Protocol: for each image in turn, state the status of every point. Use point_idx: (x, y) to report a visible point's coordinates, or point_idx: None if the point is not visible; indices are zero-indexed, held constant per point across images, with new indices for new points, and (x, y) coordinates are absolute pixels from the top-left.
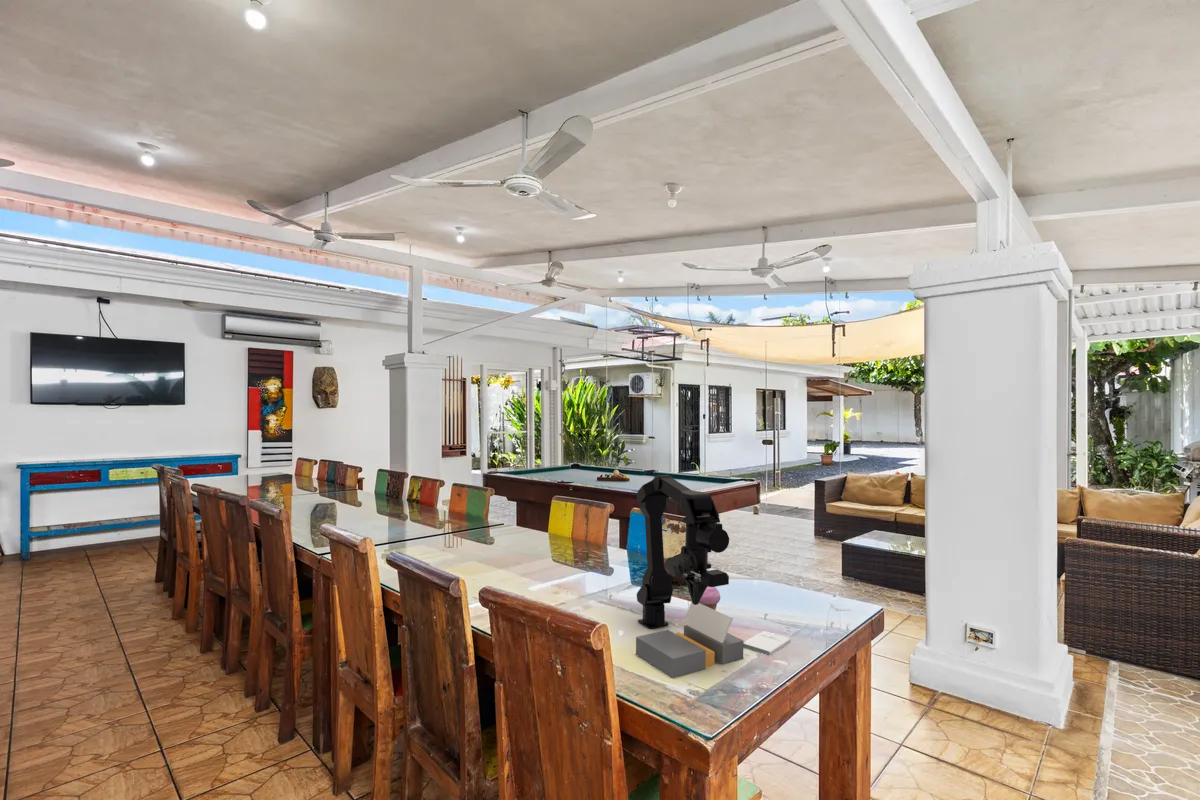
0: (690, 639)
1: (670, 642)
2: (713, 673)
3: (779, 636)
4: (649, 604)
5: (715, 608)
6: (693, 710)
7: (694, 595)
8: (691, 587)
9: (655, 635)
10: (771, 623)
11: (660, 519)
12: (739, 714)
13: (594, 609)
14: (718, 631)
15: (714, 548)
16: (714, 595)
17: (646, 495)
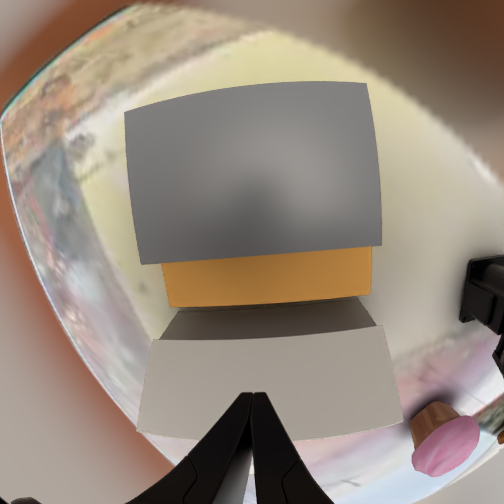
0: (295, 296)
1: (256, 174)
2: (137, 253)
3: (252, 470)
4: None
5: (414, 442)
6: (39, 117)
7: (211, 441)
8: (258, 498)
9: (352, 159)
10: (322, 481)
11: None
12: (12, 195)
13: None
14: (178, 369)
15: None
16: (421, 464)
17: None
